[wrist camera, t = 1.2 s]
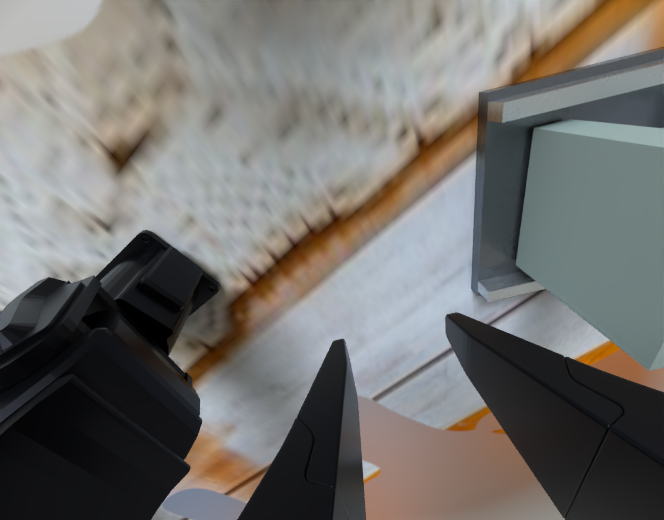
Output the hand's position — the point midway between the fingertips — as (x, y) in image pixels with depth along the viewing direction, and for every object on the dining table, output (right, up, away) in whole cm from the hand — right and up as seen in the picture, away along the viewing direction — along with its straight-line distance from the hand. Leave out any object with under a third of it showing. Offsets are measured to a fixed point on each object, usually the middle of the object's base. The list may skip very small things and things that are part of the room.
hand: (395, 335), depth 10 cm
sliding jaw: (+12, +7, +10) cm, 17 cm away
